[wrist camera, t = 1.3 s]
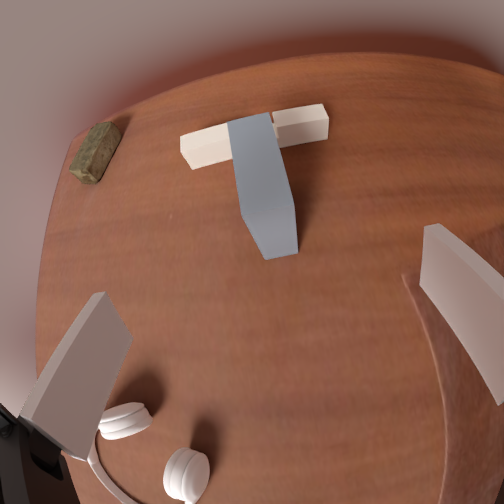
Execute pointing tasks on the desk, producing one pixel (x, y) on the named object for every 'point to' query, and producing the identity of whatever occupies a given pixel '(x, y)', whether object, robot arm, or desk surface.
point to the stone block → (95, 152)
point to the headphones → (177, 469)
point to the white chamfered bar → (285, 126)
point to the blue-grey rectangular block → (263, 185)
